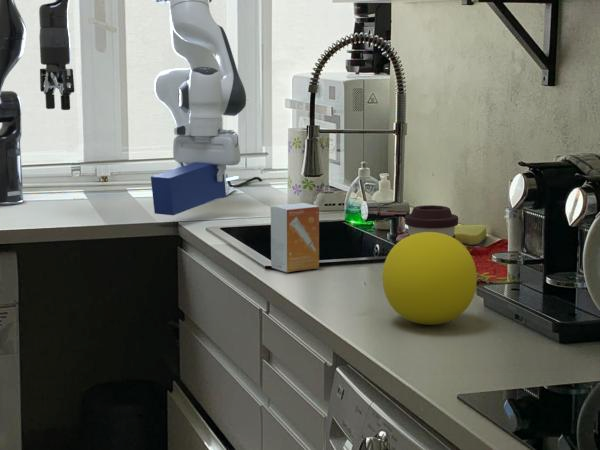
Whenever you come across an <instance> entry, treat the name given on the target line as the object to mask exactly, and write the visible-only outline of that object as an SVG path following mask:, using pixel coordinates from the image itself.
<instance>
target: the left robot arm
mask: <svg viewBox="0 0 600 450" xmlns="http://www.w3.org/2000/svg"><path fill="white" fill-rule="evenodd" d="M69 3H70V0H55V1H53V2H49V3H44V4H41V5H40V6H39V8H38V9H39V10H38V16H39V18H38V19H39V36H38V37H39V38H38V39H39V55H40V57H39V59H40V64H41V65H42V66H43V65H45V68H40V69H39V87H40V92H43V94H44V96H45V109H47V110H52V109H53V110H54V109H55V108H56V101H55V100H56V99H55V91H56V89H58V92H59V94H60V109H61V111H70V110H71V97H70V96H71V95H72V93H75V81H74V80H75V79H74V70H73V68H67V66H66V65H70V64H71V62H72V61H71V59H72V58H71V39H70V37H71V36H70V32H69V18H68V17H69V16H68V15H69V14H68V13H69V12H68V10H69ZM26 39H27V27H26V24H25V22H24V20H23V17H22V15H21V13H20V11H19V9H18V7H17V4H16V2H15V0H0V124H1V127H0V206H11V205H21V204H23V203H24V202H25V201H24V187H23V170H22V169H23V168H22V167H23V166H22V151H21V138H22V103H21V102H22V101H21V99H20V97H19V95H18V93H17V92H16V91H13V90H3V87H4V83H5V81H6V78H8V75H9V74H10V73H11V71H12V70H13V69H14V67H15V66H16V65H17V64H18V62H19V61H20V59H21V58H22V56H23V54H24V50H25V45H26Z"/></svg>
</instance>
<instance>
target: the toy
mask: <svg viewBox="0 0 600 450" xmlns="http://www.w3.org/2000/svg"><path fill="white" fill-rule="evenodd" d="M407 236H408V235H407ZM407 236H406V237H404V238H403V239H401V240H399V241H398V242H397V243H396V244H395V245H394V246H393V247H392V248H391V249H390V250H389V252H388V254H387V255H386V258H385V260H384V263H383V268H382V276H381V277H382V287H383V291H384V295H385V297H386V300H387V302H388V303H389V305H390V306H391V308H392V309H393V310H394V311H395V312H396V313H397V314H398V315H399V316H401V317H402V318H404V319H405V320H407V321H410V322H413V323H415V324H419V325H420V324H421V325H427V326H428V325H429V326H431V325H432V326H433V325H440V324H445V323H449V322H450V321H452V320H454V319H456V318H457V317H459V316H461V315H462V314H463V313H464V312H465V311H466V310H467V309H468V307H469V306H470V305H471V303H472V301H473V299H474V296H475V293H476V290H477V284H478V275H477V268H476V263H475V261H474V258H473V257H472V255H471V253H470V251H469V250H468V248H467V247H466V246H465V245H464V244H463V243H462V242H461V241H460V240H458V239H456V237H455V238H453V237H451V236H448V235H445V234H442V233H437V232H422V233H417V234H413V235H410V236H408V237H407Z"/></svg>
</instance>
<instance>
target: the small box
mask: <svg viewBox="0 0 600 450" xmlns="http://www.w3.org/2000/svg"><path fill="white" fill-rule="evenodd" d="M270 267H271V268H272V269H275V270H277V271H281V272H284V273H291V272H296V271H297V272H298V271H299V272H300V271H308V270H315V269H316V270H317V269H319V268H320V206H319V205H315V204H311V203H306V202H298V203H285V204H280V205H271V206H270Z"/></svg>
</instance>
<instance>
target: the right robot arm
mask: <svg viewBox="0 0 600 450" xmlns="http://www.w3.org/2000/svg"><path fill="white" fill-rule="evenodd" d="M153 1H154V3H157V4H164V5H165V4H167V3H168V6H169V27H170V37H171V47H172V50H173V51H174V53H175V54H176V55H177V56H179V57H180V58H183V59H185V61H186V62H187V63H188V65H189V66H190V67H189V68H173V69H167V70H163V71H161V72H159V73H158V75H157V76H156V78H155V80H154V85H153V87H154V88H153V89H154V93H155V96H156V97H157V99H158V100H159V101H160V102H161V103H163V105H164V106H166V108H167V109H168V110H169V111H170V113H171V115H172V117H173V120H174V123H175V127H174V129H173V134H174V135H175V137H174V139H173V144H172V145H173V147H172V153H173V154H172V155H173V159H174V161H175V162H176V163H177V164H176V166H175V167H174V168H173V169H176V168H179V167H183V166H186V165H189V164H192V163H206V164H215V165H217V169H219V171H218V173H217V175H214V176H215V181H216V182H221V181H223V174H224V178H225V189H226V196H228V195H229V194H231V193H233V192H234V191H236V189H235V188H240V187H242V186H245V185H248V184H249V183H251V182H254V181H255V180H258V182H263V179H262V178H261V177H260V176H254V177H251V178H249V179H246V180H245V181H243V182H239V183H238V184H232V183H231V181H234V180H238V179H239V176H238V175H236V176H232V177H228V173H227V172H226V170H227V166H238V165H239V164H240V162H241V150H240V144H239V143H240V142H239V135H238V134H237V132H236V131H234V130H233V129H224V127H223V125H224V123H223V122H224V121H223V116H227V117H228V116H229V117H236V116H237V115H238V114H240V113H241V112H243V110H244V109H245V107H246V105H247V93H246V89H245V87H244V84H243V81H242V79H241V76H240V74H239V71H238V68H237V65H236V61H235V59H234V54H233V51H232V48H231V45H230V42H229V39H228V36H227V34H226V32H225V29H224V28H223V26H221V25H219V24H218V23H217V21H215V20H214V18H213V16H212V14H211V10H210V3H212V1H213V0H153Z"/></svg>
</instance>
